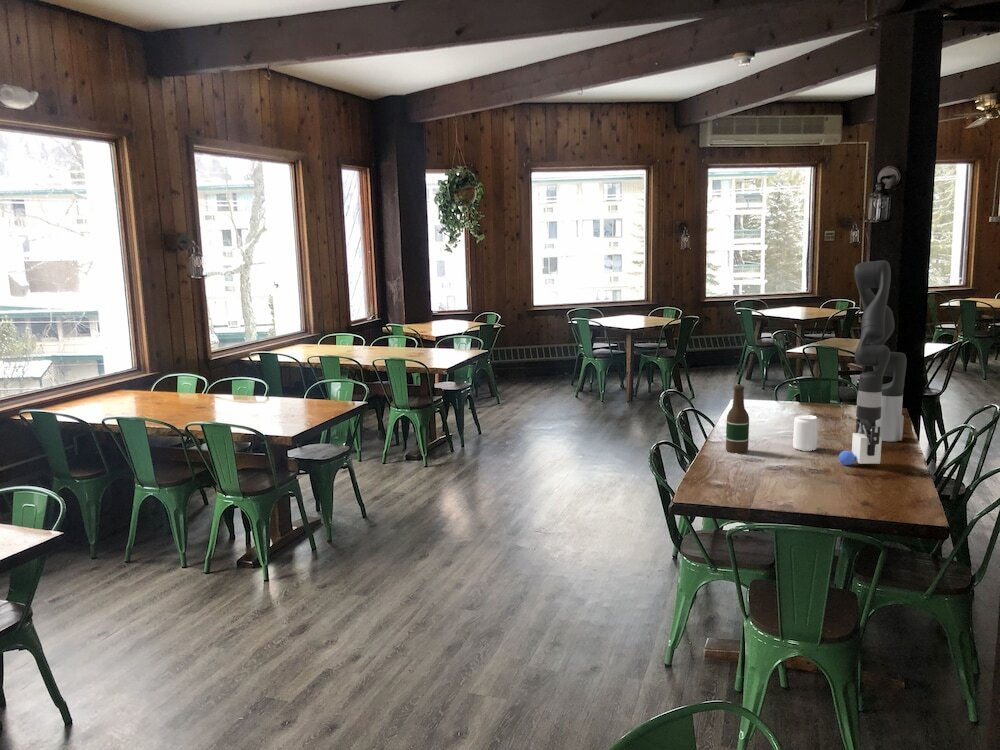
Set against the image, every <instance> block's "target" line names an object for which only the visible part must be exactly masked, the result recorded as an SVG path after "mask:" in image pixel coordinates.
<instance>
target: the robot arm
mask: <svg viewBox="0 0 1000 750" xmlns="http://www.w3.org/2000/svg"><path fill="white" fill-rule="evenodd" d="M854 280H855V284H856V287H857V290H858V294H859V297H860V300H861V303H862V304H861V305H862V310H863V313H862V318H861V334H860V339H859V341H858V344H857V347H856V349H855V352H854V361H855V362H856V364H857V365H858V366H866V367H872V368H873V370H872V371H868V372H863V373H860V374H859V377H858V392H857V396H856V412H855V413H856V414H855V416H856V419H855V422H856V423H855V433H859V434H865V437H866V438H868V441H867V443H868V446H867V455H868V456H874V455H875V445H876V444H879V437H881V438H882V442H899V441H903V434H904V432H903V431H904V421H905V419H904V417H905V416H904V415H903V401H904V400H903V397H904V388H905V378H906V373H907V372H906V371H907V364H908V363H907V356H906V353H904V352H897V351H891V350H890V348H889V347H888V346H887V345H885V343H886V342H887V340H889V338H890V337H891V335H892V334H893V332H894V330H895V318H894V313H893V311H892V309H891V308H890V307H889V306H888V305H887V304H888V299H889V293H890V287H891V281H892V272H891V266H890V263H889V262H888V261H887V260H886V259H885V260H883V259H882V260H875V261H873V260H871V261H864V262H859V263H857V264H856V265H855V267H854ZM872 289H878V290H877V293H876V294H874V292H873V291H872ZM884 377H892V380H891V381H890V382H888V383H883V379H884ZM873 438H874V441H873Z"/></svg>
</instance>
